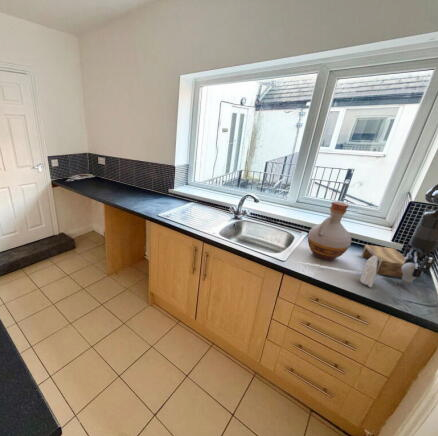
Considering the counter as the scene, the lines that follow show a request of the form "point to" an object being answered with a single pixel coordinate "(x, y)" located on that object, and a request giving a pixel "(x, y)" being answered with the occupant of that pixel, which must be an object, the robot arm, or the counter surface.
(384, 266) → the wooden wedge block
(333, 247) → the jug
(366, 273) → the pale stone slab
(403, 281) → the lightbulb
